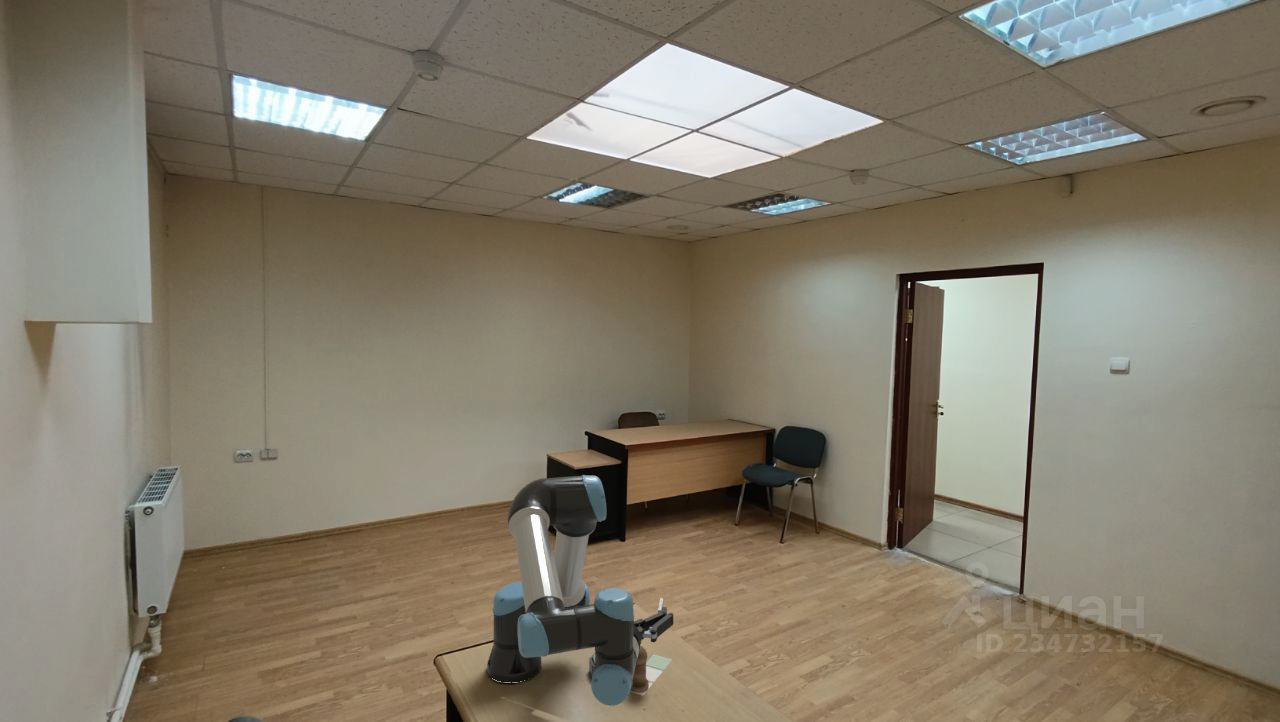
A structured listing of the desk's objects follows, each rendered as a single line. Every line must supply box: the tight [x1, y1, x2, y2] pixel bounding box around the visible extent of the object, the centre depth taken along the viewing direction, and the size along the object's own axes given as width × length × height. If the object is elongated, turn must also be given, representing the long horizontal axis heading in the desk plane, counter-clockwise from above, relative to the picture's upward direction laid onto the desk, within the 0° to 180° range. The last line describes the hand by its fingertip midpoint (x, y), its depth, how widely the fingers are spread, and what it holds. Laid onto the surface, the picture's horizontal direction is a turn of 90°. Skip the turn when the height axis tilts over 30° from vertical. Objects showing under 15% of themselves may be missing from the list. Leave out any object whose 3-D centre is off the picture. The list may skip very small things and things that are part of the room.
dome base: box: [588, 653, 595, 677], centre depth 160 cm, size 9×9×4 cm
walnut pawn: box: [630, 645, 650, 694], centre depth 153 cm, size 6×6×11 cm
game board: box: [629, 654, 673, 696], centre depth 159 cm, size 9×20×1 cm, turn 153°
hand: (634, 601), depth 143 cm, fingers open, 13 cm apart
